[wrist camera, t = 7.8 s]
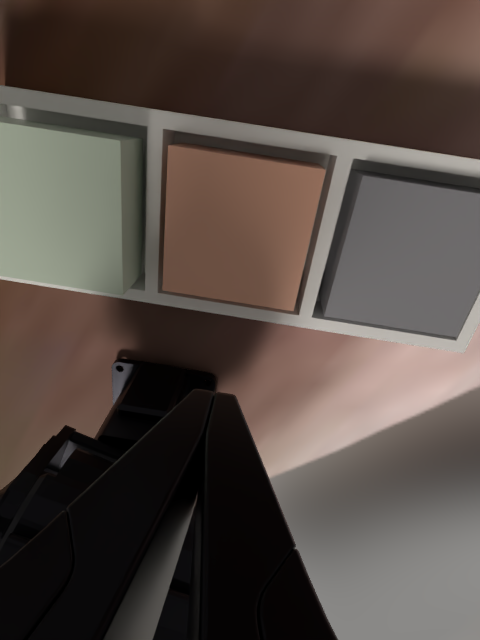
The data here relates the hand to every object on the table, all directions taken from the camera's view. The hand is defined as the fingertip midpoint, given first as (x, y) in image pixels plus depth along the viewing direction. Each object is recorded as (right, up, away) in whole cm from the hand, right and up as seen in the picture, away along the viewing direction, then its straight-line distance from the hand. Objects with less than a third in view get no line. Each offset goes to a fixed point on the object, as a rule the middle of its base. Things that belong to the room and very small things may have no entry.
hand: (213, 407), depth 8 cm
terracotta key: (+1, +6, +10) cm, 12 cm away
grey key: (+8, +5, +10) cm, 14 cm away
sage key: (-7, +7, +9) cm, 13 cm away
